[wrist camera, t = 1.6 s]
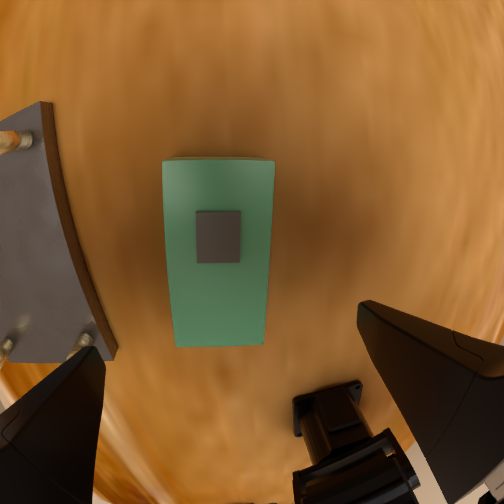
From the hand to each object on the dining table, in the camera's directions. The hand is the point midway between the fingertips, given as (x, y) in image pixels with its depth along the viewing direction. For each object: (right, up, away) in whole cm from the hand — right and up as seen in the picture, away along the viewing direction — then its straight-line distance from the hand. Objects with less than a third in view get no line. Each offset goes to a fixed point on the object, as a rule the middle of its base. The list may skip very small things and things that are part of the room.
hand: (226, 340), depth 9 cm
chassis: (-15, +3, +6) cm, 17 cm away
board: (-1, +3, +8) cm, 9 cm away
